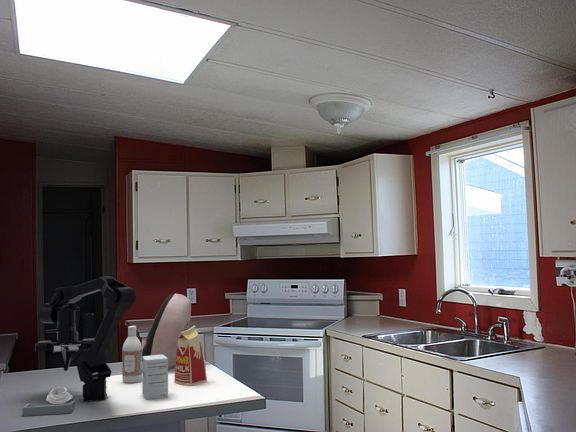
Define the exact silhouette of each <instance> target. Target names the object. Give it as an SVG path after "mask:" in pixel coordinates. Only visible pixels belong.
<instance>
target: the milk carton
mask: <svg viewBox="0 0 576 432" xmlns="http://www.w3.org/2000/svg"><path fill="white" fill-rule="evenodd" d="M207 377H208V376H207V369H206V362H205V357H204V352H203V347H202V344H201V339H200V335H199V332H197V330H196V325H193V326H191V327H189V329H188V330H186V331H184V332H181V336H180V337H179V338H178V344H177V351H176V361H175V364H174V379H173V380H174V381H173V382H174V383H175V384H178V385H181V386H194V385H199V384H203V383H207V382H208V378H207Z"/></svg>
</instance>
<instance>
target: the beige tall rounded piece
mask: <svg viewBox="0 0 576 432" xmlns="http://www.w3.org/2000/svg"><path fill="white" fill-rule="evenodd" d="M191 312H192V303H191V300H190V299H189V298H188V297H187V296H186V295H184V294H182V293H181V294H180V293H170V294H169V295H168V296H166V298H165V299H164V301H163V302H162V304H161V306H160V307H159V309H158V311H157V313H156V315H155V317H154V319H153V321H152V324H151V325H150V329H149V330H148V333H147V336H146V338H145V341H144V344H143V347H142V357H143V356H152V355H164V356H166V357H167V358H168V370H170V369H171V368H172V367H174V366H175V361H176V351H177V344H178V338H179V337H180V336H181V332H184V331H186V330H188V329H190V325H191V314H192V313H191Z"/></svg>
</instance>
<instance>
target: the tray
mask: <svg viewBox="0 0 576 432" xmlns="http://www.w3.org/2000/svg"><path fill="white" fill-rule="evenodd" d="M75 406H76V401H75V399H74V400H70V401H69V403H67V404H66V403H63V404H51V405H36V406H35V405H34V406H32V405H31V402H30V403H26V404H25V405H24V406H23V407H21V415H22V416H21V417H30V416H31V417H33V416H44V415H45V416H46V415H57V414H58V415H59V414H60V415H61V414H72V413H73V411H74V410H75V408H76V407H75Z"/></svg>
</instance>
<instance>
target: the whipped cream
mask: <svg viewBox="0 0 576 432" xmlns="http://www.w3.org/2000/svg"><path fill="white" fill-rule="evenodd" d="M73 398H74V396H73V395H72V394H71V393H69V392H68V389H67V387H65V386H56V387H54V388H52V389H51V391H50V392H49V393H48V394H47V396H46V400H45V401H46V402H48V404H49V403H50V404H51V405H63V404H66V403H67V402H70V401H72V399H73Z"/></svg>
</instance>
